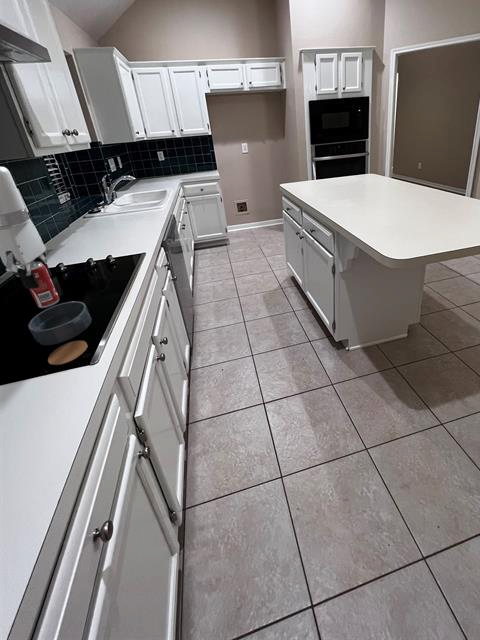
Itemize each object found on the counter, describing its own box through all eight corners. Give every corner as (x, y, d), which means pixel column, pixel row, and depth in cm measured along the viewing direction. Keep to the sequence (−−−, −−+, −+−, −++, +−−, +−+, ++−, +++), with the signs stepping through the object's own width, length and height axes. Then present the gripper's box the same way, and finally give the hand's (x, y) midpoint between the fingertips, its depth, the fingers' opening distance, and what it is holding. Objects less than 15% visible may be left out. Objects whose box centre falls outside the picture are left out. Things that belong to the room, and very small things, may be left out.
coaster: (41, 368, 79) (40, 367, 79) (59, 344, 87) (59, 343, 87) (78, 362, 80) (77, 361, 80) (93, 339, 88) (92, 338, 88)
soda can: (42, 300, 90) (24, 263, 85) (62, 296, 91) (46, 259, 86) (34, 310, 85) (15, 271, 80) (56, 305, 87) (38, 267, 82)
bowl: (30, 353, 85) (21, 337, 83) (44, 324, 97) (36, 309, 95) (88, 336, 89) (81, 321, 87) (95, 311, 101) (88, 296, 99)
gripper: (16, 210, 85) (42, 270, 93) (-34, 232, 70) (3, 301, 77) (45, 207, 86) (69, 267, 94) (2, 228, 70) (35, 297, 78)
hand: (39, 281), depth 85 cm, fingers closed on soda can, 5 cm apart
